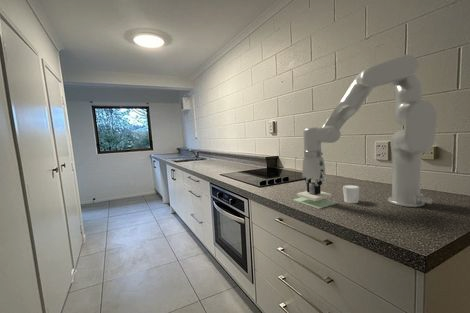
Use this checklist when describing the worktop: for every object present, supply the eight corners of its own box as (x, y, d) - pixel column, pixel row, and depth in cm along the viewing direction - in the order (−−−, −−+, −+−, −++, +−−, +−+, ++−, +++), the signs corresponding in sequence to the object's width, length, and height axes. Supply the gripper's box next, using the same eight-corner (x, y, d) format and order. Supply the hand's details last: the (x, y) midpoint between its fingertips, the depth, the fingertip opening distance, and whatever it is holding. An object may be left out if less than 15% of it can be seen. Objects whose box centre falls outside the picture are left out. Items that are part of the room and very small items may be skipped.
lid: (331, 196, 102) (331, 183, 101) (314, 201, 97) (314, 187, 96) (312, 191, 112) (312, 179, 111) (296, 195, 107) (296, 183, 106)
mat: (337, 203, 100) (337, 202, 100) (318, 209, 95) (318, 208, 95) (310, 195, 114) (310, 194, 114) (292, 200, 109) (292, 199, 109)
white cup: (345, 198, 107) (344, 184, 106) (361, 200, 102) (361, 185, 102) (341, 202, 101) (341, 187, 101) (358, 204, 97) (357, 189, 96)
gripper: (333, 154, 97) (334, 195, 99) (305, 152, 111) (306, 188, 113) (321, 156, 93) (322, 198, 95) (293, 154, 108) (295, 190, 110)
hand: (313, 192), depth 104 cm, fingers closed on lid, 4 cm apart
